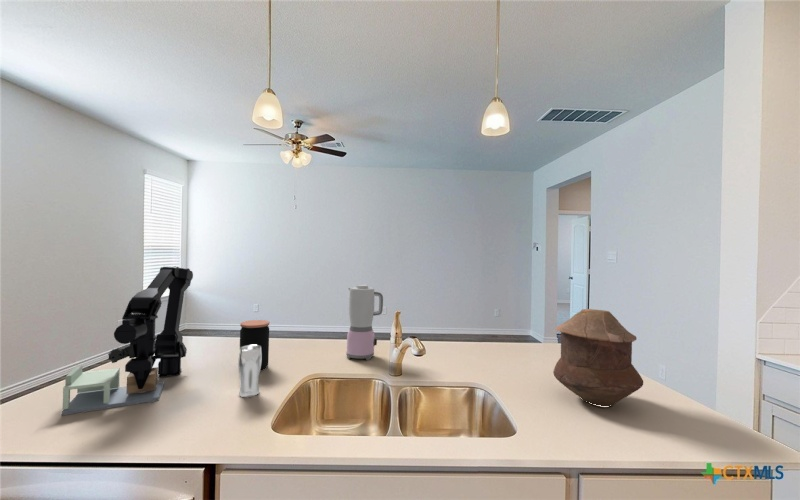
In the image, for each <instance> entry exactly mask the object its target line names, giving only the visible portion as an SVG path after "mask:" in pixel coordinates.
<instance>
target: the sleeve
mask: <svg viewBox="0 0 800 500" xmlns="http://www.w3.org/2000/svg"><path fill="white" fill-rule="evenodd" d="M158 377H159V374H158V366H157V367H156V366H155V367H152V369H151V371H150V373H149V376H148V378H147V380H146V382H145V385H144V387H143V389H138V386H137V383H136V379H135V376H134V374H132V373H131V372H128V375H127V376H126V386H127V390H126V394H130V393H137V392H144V391H152V390H155V387H156V385H157V382H158Z"/></svg>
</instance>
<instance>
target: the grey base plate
mask: <svg viewBox="0 0 800 500" xmlns="http://www.w3.org/2000/svg"><path fill="white" fill-rule="evenodd" d="M164 386H165V381H159V382H158V381H157V385H156V387H155V390H152V391H144V392H137V393H130V394H126V390H127V385H126V386H122V387H121V386H119V388H112V389H110V402H109V403H103V402H104V390H97V391H89V392H82V393H77V394H76V395H75V396H74V397H73V398H72V399H71V400H70V407H69V408H68V409H62V410H61V416H63V415H71V414H77V413H78V414H79V413H85V412H91V411H99V410H105V409H112V408H117V407H119V408H120V407H125V406H131V405H132V406H133V405H137V404H145V403H151V402H157V401H159V400H160V397H161V394H162V391H163V388H164Z"/></svg>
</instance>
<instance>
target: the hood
mask: <svg viewBox="0 0 800 500" xmlns="http://www.w3.org/2000/svg"><path fill="white" fill-rule="evenodd" d="M83 368H84V365H83V364H80V365H76V366H75V367H74V368H73V369H72V370H71V371H70V372H68V374H66V376H65V378H64V379H65V384H64V386H63V389H62V390H63V391H62V410H64V409H68V408H69V407H70V402H71V390H77V391H76V393H77V394H78V393H82V392H89V391H97V390H104V402H103V403H109V402H110V389H112V388H119V387H120V374H121V373H120V367H116V368H108V369H107V368H106V369H98V370H91V371H90V370H89V371H83Z"/></svg>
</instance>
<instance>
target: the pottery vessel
mask: <svg viewBox="0 0 800 500" xmlns="http://www.w3.org/2000/svg"><path fill="white" fill-rule="evenodd" d="M555 330H556V331H557V332H559V333H560V358H559V359H558V361H557V362H556V364H555V366H554V368H553V371H552V372H553V375H554V377H555V379H556V380H557V381H558V382H559V383H560V384H561V385H563V387H566V389H568V390H569V391H570V392H572V393H573V394H574V395H577V396H578V397H579V398H580V397H581V398H582V399H583V400H585V401H587V402H590V403H592V404H596V405H601V406H610V405H613V404H614V405H615V404H616V403H618V402H620V401H622V400H623V399H625V398H627V397H629V396H630V395H632V394H633V393H635V392H637V391H638V390H640V389H641V388H642V387H643V385H644V379H643V377H642V376H641V374H640V373H639V372H638V370H637V369H636V368H635V366H634V365H633V363H632V362H633V361H632V360H633V359H632V354H633V342H635V341H637V336H636V335H634V334H633V333H632V332H630V331H629V330H627V329H626V328H625V327H624V326H623V325H622V324H621V322H620V321H619V320H618V319H617V317H616V316H614V314H612V312H610V311H609V310H604V309H603V310H602V309H593V308H583V309H581V310H580V311H578V312H577V313H576V314H574V315H573V316H571V317H570V318H569V319H567V320H566V321H564V322H562V323H561V324H559V325H557V326H556V327H555ZM581 398H580V399H581ZM582 399H581V400H582ZM583 400H582V401H583ZM585 401H584V402H585ZM614 405H613V406H614Z"/></svg>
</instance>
